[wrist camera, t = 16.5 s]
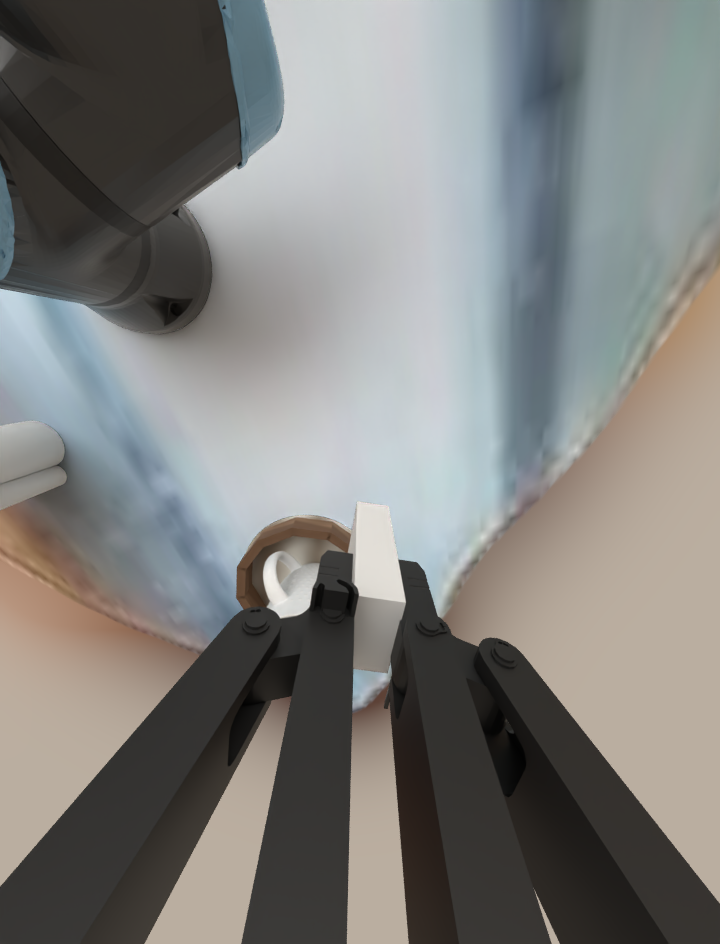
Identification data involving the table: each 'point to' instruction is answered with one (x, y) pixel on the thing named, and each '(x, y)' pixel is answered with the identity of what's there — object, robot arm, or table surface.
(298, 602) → the mug
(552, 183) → the table surface
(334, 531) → the holder
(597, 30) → the table surface
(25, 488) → the vase
